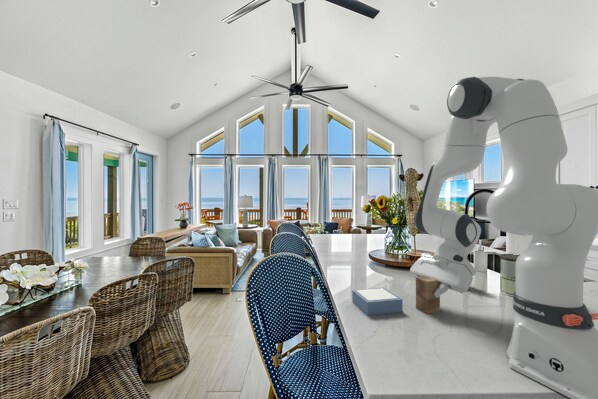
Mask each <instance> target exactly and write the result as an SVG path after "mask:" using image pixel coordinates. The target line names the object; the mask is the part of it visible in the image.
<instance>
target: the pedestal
mask: <svg viewBox="0 0 598 399" xmlns="http://www.w3.org/2000/svg"><path fill="white" fill-rule="evenodd" d="M351 291H352V292H351V297H352V298H351V301H352V303H353V304H354V305H356V307H358V308H359V309H360V310H361V312H363V313H364V314H366V316H373V315H383V314H384V315H387V314H396V313H402V312H403V310H404V309H403V305H404V304H403V302H404V301H403V299H402V298H401V297H400V296H397V294H394V293H393V292H391V291H390V290H388V289H387V288H385V287H375V288H362V289H352V290H351Z"/></svg>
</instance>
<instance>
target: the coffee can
mask: <svg viewBox="0 0 598 399" xmlns="http://www.w3.org/2000/svg"><path fill="white" fill-rule="evenodd" d="M513 254H514V253H502V254H499V264H500V265H499V270H500V272H499V273H500V280H499V281H500V283H499V286H500V294H502V295H505V296H508V297H512V298H513V293H514V292H516V260H517V258H518V256H519V255H520V254H519V255H513Z"/></svg>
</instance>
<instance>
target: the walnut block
mask: <svg viewBox="0 0 598 399" xmlns="http://www.w3.org/2000/svg"><path fill="white" fill-rule="evenodd" d="M440 287H441V286H440V282H438V280H435V279H432V278H429V277H426V276H424V277H417V278H415V308H416V309H417V310H419V311H422V312H423V313H425V314H429V315H430V314H432V313H433V314H434V313H439V312H440V311H441V295H440V296H439V298H436V297H433V295H432V292H433V290H437V289H438V288H440Z"/></svg>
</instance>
